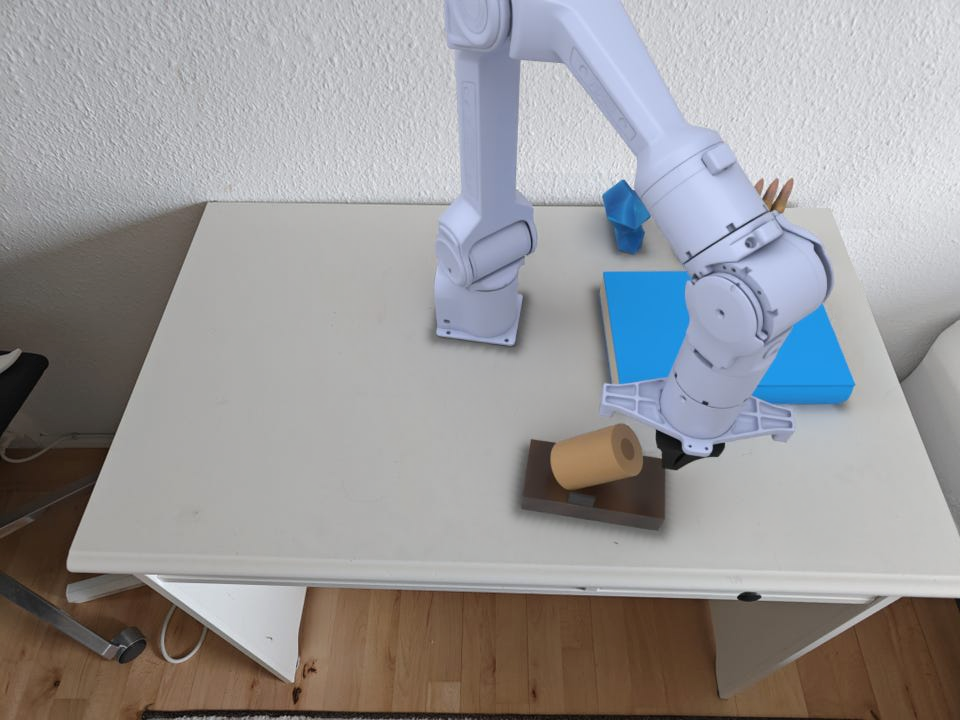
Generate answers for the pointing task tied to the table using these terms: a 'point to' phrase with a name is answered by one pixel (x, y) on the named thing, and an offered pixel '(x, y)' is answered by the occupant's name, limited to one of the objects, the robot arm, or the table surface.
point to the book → (662, 328)
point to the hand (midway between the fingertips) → (669, 459)
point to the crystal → (626, 216)
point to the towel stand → (596, 493)
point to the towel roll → (597, 457)
